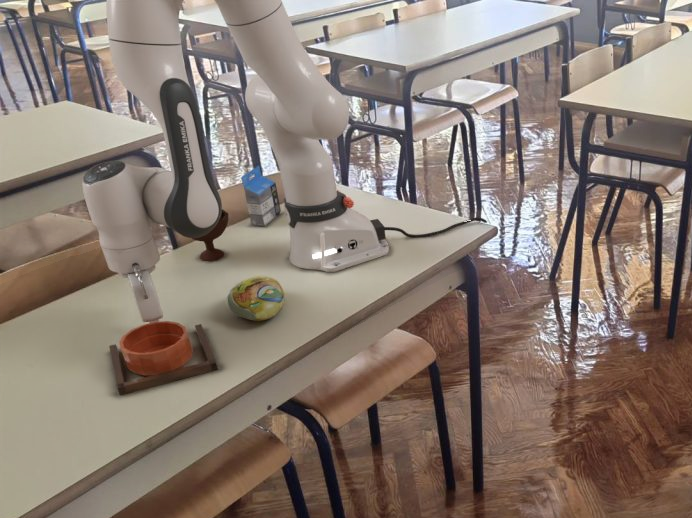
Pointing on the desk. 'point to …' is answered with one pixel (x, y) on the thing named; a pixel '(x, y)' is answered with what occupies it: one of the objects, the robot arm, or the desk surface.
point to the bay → (166, 376)
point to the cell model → (256, 298)
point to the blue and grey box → (261, 198)
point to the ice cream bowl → (210, 251)
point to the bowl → (156, 348)
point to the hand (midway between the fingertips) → (153, 319)
